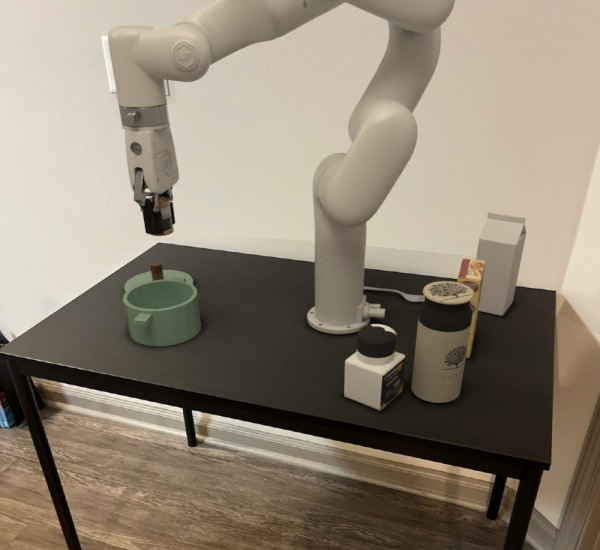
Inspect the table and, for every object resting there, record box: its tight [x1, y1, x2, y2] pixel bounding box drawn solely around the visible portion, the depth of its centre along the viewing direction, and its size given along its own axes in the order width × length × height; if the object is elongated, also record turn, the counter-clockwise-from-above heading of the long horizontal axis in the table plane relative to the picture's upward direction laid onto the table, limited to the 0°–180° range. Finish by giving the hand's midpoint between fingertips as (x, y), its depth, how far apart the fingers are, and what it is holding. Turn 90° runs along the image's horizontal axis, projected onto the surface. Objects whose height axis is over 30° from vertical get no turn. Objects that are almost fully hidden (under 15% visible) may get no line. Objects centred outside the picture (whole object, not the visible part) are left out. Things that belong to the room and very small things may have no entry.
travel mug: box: [410, 280, 474, 404], centre depth 95 cm, size 8×8×18 cm
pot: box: [122, 277, 202, 347], centre depth 118 cm, size 14×19×8 cm
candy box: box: [456, 258, 485, 359], centre depth 108 cm, size 9×4×15 cm, turn 162°
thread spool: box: [146, 196, 175, 237], centre depth 106 cm, size 4×4×6 cm
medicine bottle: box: [343, 323, 406, 411], centre depth 97 cm, size 7×7×12 cm
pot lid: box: [123, 261, 194, 293], centre depth 135 cm, size 15×15×6 cm
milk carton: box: [475, 212, 527, 317], centre depth 121 cm, size 7×7×19 cm
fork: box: [363, 285, 425, 303], centre depth 131 cm, size 3×24×2 cm, turn 63°
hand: (160, 227), depth 107 cm, fingers closed on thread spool, 4 cm apart
